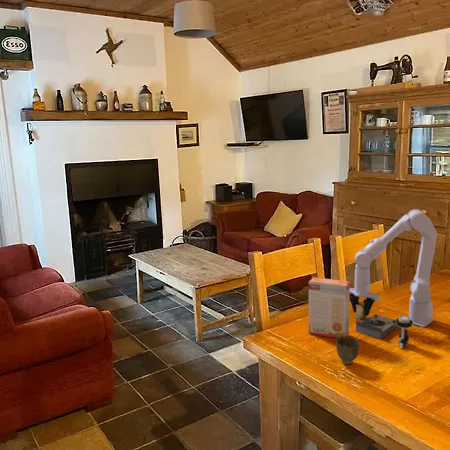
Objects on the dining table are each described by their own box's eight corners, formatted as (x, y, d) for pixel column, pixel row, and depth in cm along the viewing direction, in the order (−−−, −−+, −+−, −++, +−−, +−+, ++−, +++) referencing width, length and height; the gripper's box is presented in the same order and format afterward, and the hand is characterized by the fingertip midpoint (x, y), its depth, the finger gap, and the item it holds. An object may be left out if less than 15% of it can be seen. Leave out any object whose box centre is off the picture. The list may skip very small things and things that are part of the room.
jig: (374, 320, 181) (375, 310, 180) (398, 327, 174) (399, 317, 173) (355, 331, 172) (356, 321, 171) (380, 339, 164) (380, 328, 164)
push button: (408, 351, 155) (409, 323, 153) (392, 347, 158) (393, 320, 156) (412, 343, 160) (414, 317, 158) (397, 340, 164) (398, 313, 161)
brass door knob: (359, 314, 186) (359, 301, 185) (369, 317, 183) (369, 303, 182) (352, 318, 183) (353, 304, 182) (363, 321, 180) (363, 307, 179)
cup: (355, 371, 144) (355, 347, 142) (332, 365, 147) (332, 342, 146) (361, 360, 150) (362, 338, 148) (339, 355, 154) (340, 333, 152)
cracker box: (349, 334, 169) (350, 280, 165) (345, 340, 164) (346, 285, 160) (313, 327, 176) (313, 276, 172) (308, 333, 171) (308, 280, 167)
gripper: (340, 279, 183) (340, 311, 186) (373, 288, 172) (372, 321, 175) (350, 275, 187) (349, 306, 190) (383, 283, 177) (381, 316, 180)
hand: (361, 313), depth 183 cm, fingers closed on brass door knob, 4 cm apart
